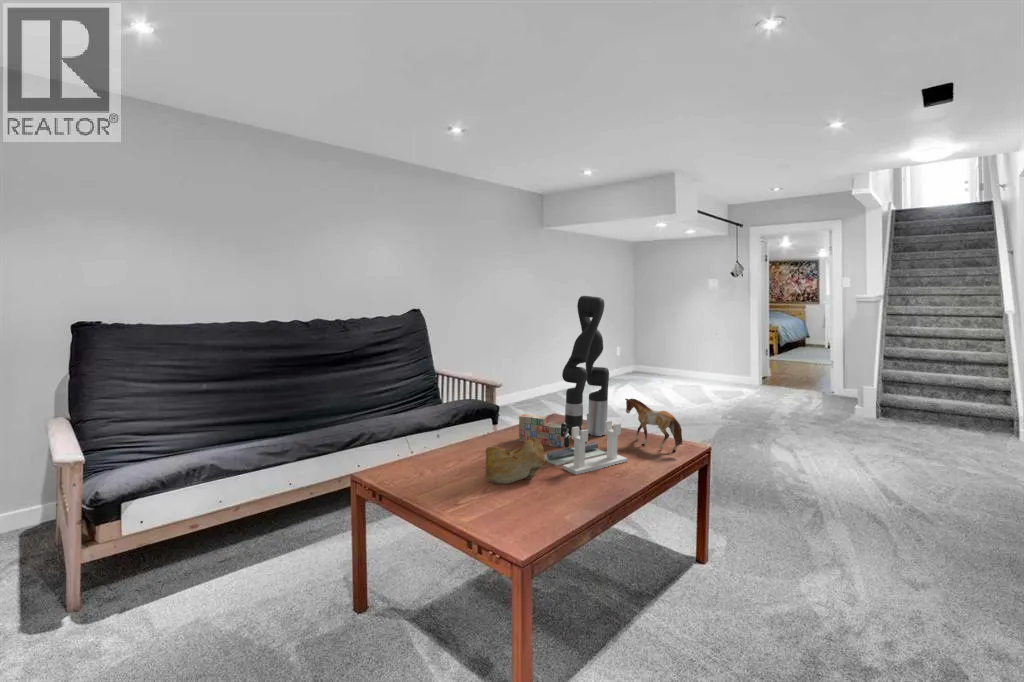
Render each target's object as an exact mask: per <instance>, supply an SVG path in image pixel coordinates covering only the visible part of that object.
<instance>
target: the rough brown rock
mask: <svg viewBox="0 0 1024 682" xmlns="http://www.w3.org/2000/svg"><path fill="white" fill-rule="evenodd" d="M544 455H545V451H544V445H542V444H541V443H540V441H539V439H537V438H532V439H529V440H527V441H525V442H522V444H521V446H519V447H516V448H515V447H514V448H513V447H512V448H510V449H502V448H500V447H498V446H489V447H487V448H486V449H485V479H486V481H487V482H491V483H493V484H497V485H508V484H512V483H513V482H517V481H520V480H524V479H527V480H528V479H533V478H534V476H535V475H536V473H537V471H538V470H539V469H540V468H541V466H543V465H544V464H545V459H544V458H545V456H544Z"/></svg>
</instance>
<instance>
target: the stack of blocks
mask: <svg viewBox="0 0 1024 682" xmlns="http://www.w3.org/2000/svg"><path fill="white" fill-rule="evenodd" d="M561 424H562V423H557V422H555V423H554V422H549V416H548V415H541V414H533V413H522V414H520V415H519V416H518V428H519V429H518V441H519V442H522V441H524V442H525V441H527V440H529V439H532V438H537V439H539V441H540V443H541V444H542V446H548V447H554V448H561V449H562V447H564V438H563V437H561ZM563 434H564V432H563ZM524 442H523V443H524Z"/></svg>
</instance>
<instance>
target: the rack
mask: <svg viewBox="0 0 1024 682" xmlns="http://www.w3.org/2000/svg"><path fill="white" fill-rule="evenodd" d="M621 430H622V423H620V422H617V423H613V421H612V420H607V421H605V432H606V433H607V435H606V452H607V454H604V455H600V456H596V457H592V458H588V459H585V444H586V443H585V442H587V443H588V441H589V434H588V430H587V429H586V430H584V429H583V430H581V431H580V427H572V436H571V439H572V440H573V447H574V462H571V463H567V464H562V470H564V471H566V470H567V471H566V472H568V473H571V474H573V475H575V474H576V476H577V474H578V475H581V473H582V474H585V472H586V473H589V471H590V472H593V471H597V470H600V469H605V468H609V467H612V466H611V465H613V466H616V465H615V464H617V465H620V464H619V463H621V464H623V463H622V462H624V463H626V462H625V461H627V462H628V457H625V456H623V455H620V454H618V442H619V441H618V439H619V438H618V437H619V435H621V434H622V432H621ZM579 432H580V436H579ZM608 466H609V467H608ZM604 467H605V468H604Z"/></svg>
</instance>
